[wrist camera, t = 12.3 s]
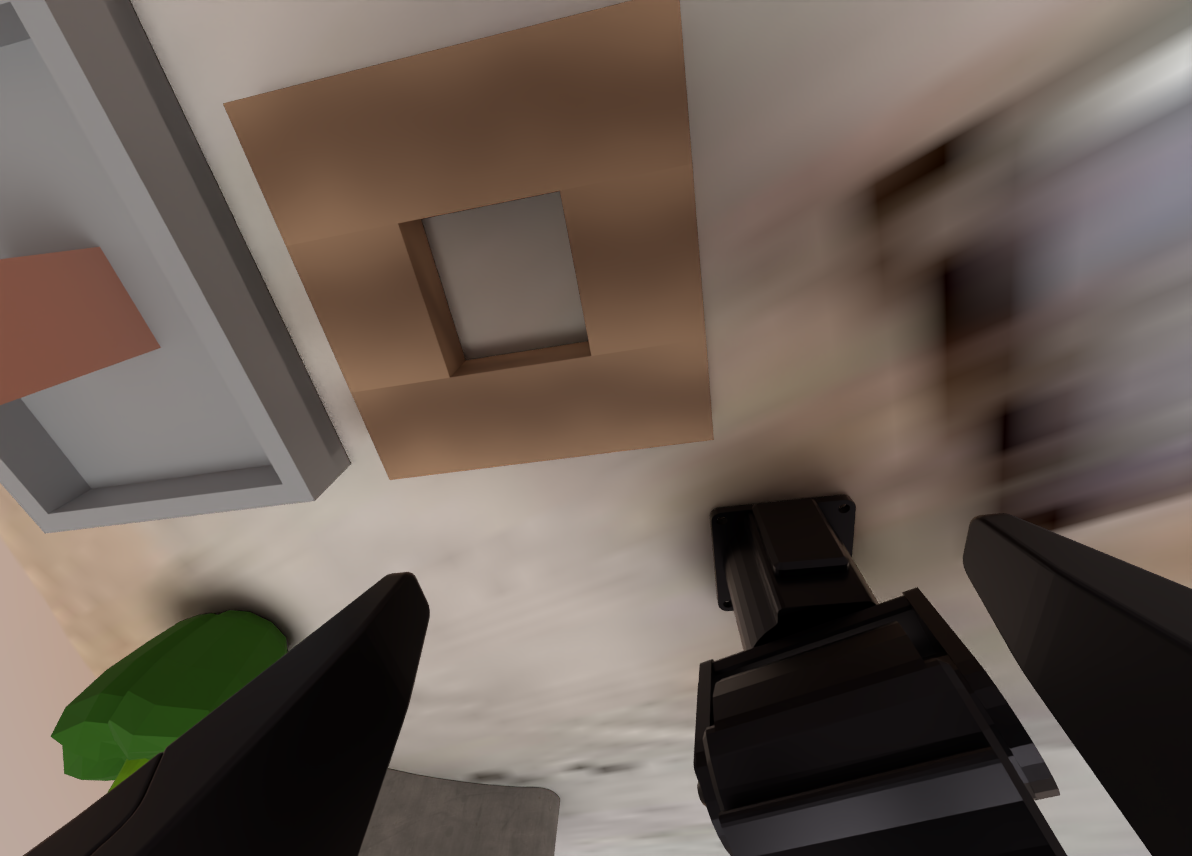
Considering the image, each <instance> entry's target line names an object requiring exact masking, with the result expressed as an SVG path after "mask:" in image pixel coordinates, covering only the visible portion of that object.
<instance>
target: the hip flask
mask: <svg viewBox="0 0 1192 856" xmlns="http://www.w3.org/2000/svg"><path fill="white" fill-rule="evenodd" d="M559 806H560V799H559V797H558V796H557V794H555V793H554V792H552V791H550V790H548V789H544V788H535V787H508V786H495V785H484V784H475V783H467V782H459V781H452V780H445V779H438V778H432V777H426V776H421V775H415V774H410V773H405V772H401V771H396V770H392V769H387V772H386V775H385V778H384V781H383V784H382V787H381V790H380V793H379V796H378V799H377V802H376V805H375V808H374V811H373V814H372V817H371V819H370V822H369V825H368V828H367V831H366V834H365V837H364V840H363V843H362V846H361V849H360V852H359V855H358V856H554V851H555V842H556V833H557V824H558V815H559Z"/></svg>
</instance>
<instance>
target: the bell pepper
mask: <svg viewBox="0 0 1192 856" xmlns="http://www.w3.org/2000/svg"><path fill="white" fill-rule="evenodd" d="M286 653H287V641H286V637H285V636H284V635H283V634H282V633H281V632H280V631H279V630H278V628H277V627H276V626H275V625H274V624H273V623H272V622H270V621H268V620H266V619H264V618H262V617H260V616H257V615H255V614H253V613H251V612H246V611H234V610H228V611H226V612H223V613H221V614H218V615H216V614H213V613H209V614H201V615H197V616H194V617H192V618H189V619H186V620H183V621H180V622H179V623H177V624H175V625H174V626H172V627H171V628H169V629H167V630H166V631H164V632H163V633H161V634H159V635H158V636H156V637H155V638H153V639H151V640H150V641H148V642H147V643H145V644H144V645H142V646H141V647H139V648H138V649H137V650H135V651H134V652H132V653H131V654H129V655H128V656H126V657H125V658H123V659H122V660H120V661H119V662H118V663H116V664H115V665H113V666H112V667H110V668H109V669H107V670H106V671H105V672H104V673H103V674H102V675H101V676H99V677H98V678H97V679H96V680H95V681H94V682H93V683H92V684H91V685H90V686H89V687H87V688H86V689H85V690H84V691H83V692H82V693H81V694H80V695H79V696H78V697H76V698H75V699H74V700H73V701H72V702H71V703H70V704H69V705H68V706H67V707H66V708H65V710H64V712H63V713H62V715H61V717H60V719H59V721H58V723H57V725H56V727H55V729H54V731H53V733H52V735H51V737H52V738H53V739H55V740H56V741H57V742H59V743H60V744H61V745H63V760H64V774H67V775H70V776H72V777H75V778H78V779H81V780H102V781H108V780H115V781H114V783H113V784H112V786H111V788H110V789H109V791H111V790H112V789H113V788H115V787H116V786H117V785H118V784H120V783H121V782H122V781H124V780H125V779H126V778H128V777H129V776H130V775H131V774H133V773H134V772H135V771H137V770H138V769H139V768H140V767H142V766H143V765H144V764H145V763H147V762H148V761H149V760H151V759H152V758H153V757H154V756H156V755H157V754H158V753H160V752H164V751H165V749H166V747H167V746H169V745H170V744H171V743H172V742H174V741H175V740H176V739H178V738H179V737H180V736H181V735H183V734H184V733H185V732H187V731H188V730H189V729H190V728H192V727H193V726H194V725H195V724H197V723H198V722H199V721H201V720H202V719H203V718H204V717H206V716H207V715H208V714H210V713H211V712H212V711H213V710H215V709H216V708H217V707H219V706H220V705H221V704H222V703H224V702H225V701H226V700H227V699H229V698H230V697H231V696H233V695H234V694H235V693H236V692H238V691H239V690H240V689H242V688H243V687H244V686H245V685H247V684H248V683H249V682H251V681H252V680H253V679H254V678H256V677H257V676H258V675H259V674H261V673H262V672H263V671H265V670H266V669H267V668H268V667H270V666H271V665H272V664H274V663H275V662H276V661H277V660H279V659H280V658H281V657H282V656H284V655H285V654H286ZM109 791H108V792H109Z"/></svg>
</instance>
